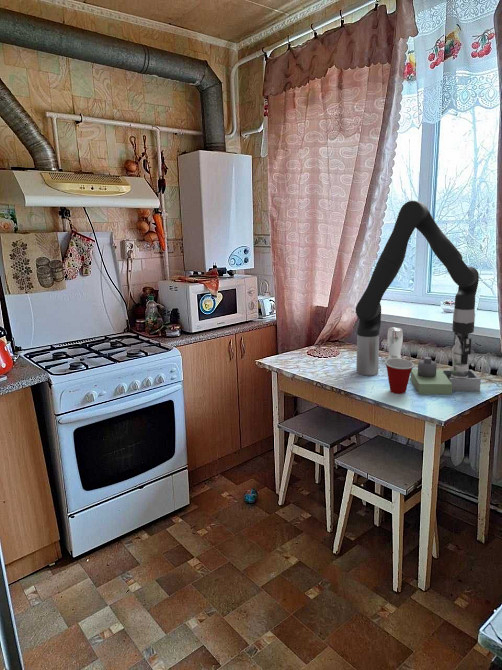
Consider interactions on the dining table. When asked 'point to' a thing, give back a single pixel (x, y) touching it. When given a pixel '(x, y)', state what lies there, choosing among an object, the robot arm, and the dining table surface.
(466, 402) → the dining table surface
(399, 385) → the plastic cup
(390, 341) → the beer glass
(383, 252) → the robot arm
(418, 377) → the green base with knob
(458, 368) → the plastic bottle
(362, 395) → the dining table surface
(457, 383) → the grey open box
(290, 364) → the dining table surface
